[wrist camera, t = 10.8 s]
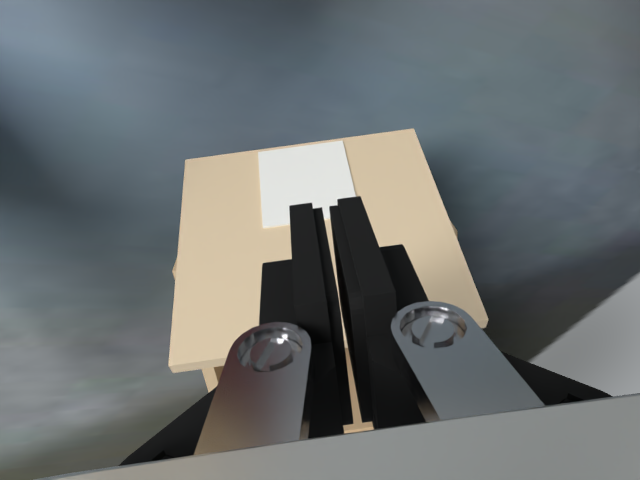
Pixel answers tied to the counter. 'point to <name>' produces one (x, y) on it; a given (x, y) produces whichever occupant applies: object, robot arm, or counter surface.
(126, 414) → the counter surface
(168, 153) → the counter surface
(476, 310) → the panel
